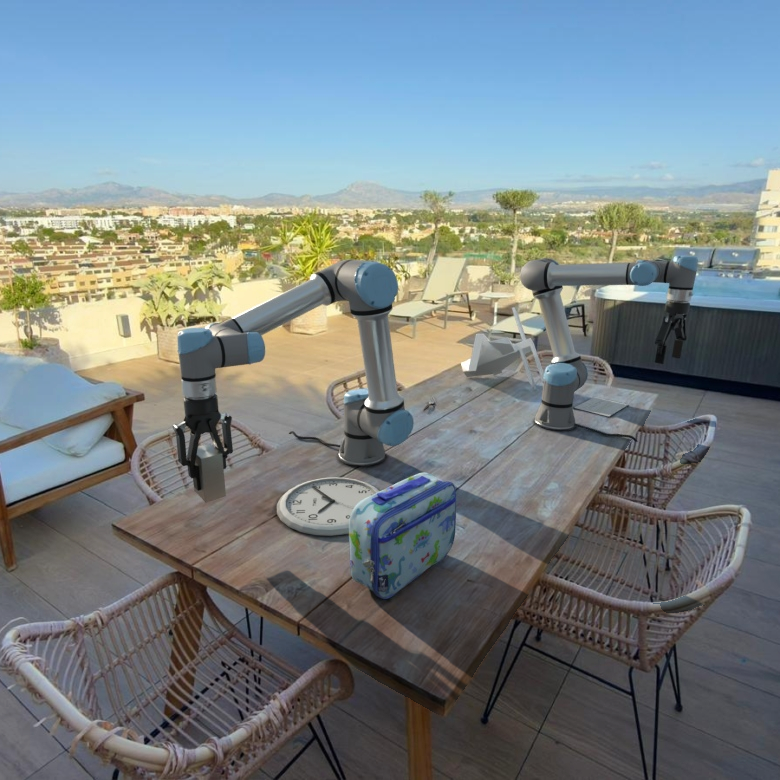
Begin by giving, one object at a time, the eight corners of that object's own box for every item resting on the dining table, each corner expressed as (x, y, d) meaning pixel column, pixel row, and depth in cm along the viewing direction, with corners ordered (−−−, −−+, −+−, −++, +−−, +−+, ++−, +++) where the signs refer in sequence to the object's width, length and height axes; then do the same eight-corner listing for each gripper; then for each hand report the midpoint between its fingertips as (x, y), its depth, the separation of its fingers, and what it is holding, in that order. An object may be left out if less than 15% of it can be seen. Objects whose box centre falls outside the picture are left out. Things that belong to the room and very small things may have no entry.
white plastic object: (482, 418, 266) (461, 395, 241) (463, 346, 288) (443, 318, 264) (553, 394, 254) (538, 368, 229) (528, 321, 276) (512, 289, 251)
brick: (194, 490, 131) (189, 448, 127) (214, 484, 134) (210, 443, 130) (205, 502, 125) (201, 458, 122) (226, 496, 128) (222, 453, 125)
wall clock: (392, 527, 129) (268, 531, 127) (391, 533, 130) (269, 537, 127) (383, 473, 158) (282, 475, 155) (383, 478, 158) (282, 480, 156)
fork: (420, 411, 216) (420, 406, 216) (430, 400, 230) (431, 395, 230) (426, 412, 215) (426, 407, 215) (436, 401, 230) (436, 396, 229)
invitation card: (608, 416, 214) (573, 407, 224) (608, 416, 214) (573, 408, 224) (628, 404, 229) (594, 396, 238) (628, 405, 229) (594, 397, 238)
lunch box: (377, 612, 103) (378, 518, 97) (342, 586, 111) (341, 497, 104) (459, 557, 121) (465, 475, 115) (425, 538, 128) (428, 460, 122)
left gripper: (165, 407, 114) (176, 502, 121) (243, 392, 125) (250, 479, 132) (154, 398, 119) (166, 489, 126) (231, 384, 130) (237, 469, 137)
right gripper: (673, 305, 172) (662, 367, 178) (704, 300, 187) (693, 357, 194) (650, 302, 178) (640, 363, 184) (682, 297, 193) (672, 353, 199)
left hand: (209, 484), depth 129 cm, fingers closed on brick, 5 cm apart
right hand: (667, 360), depth 189 cm, fingers open, 13 cm apart
